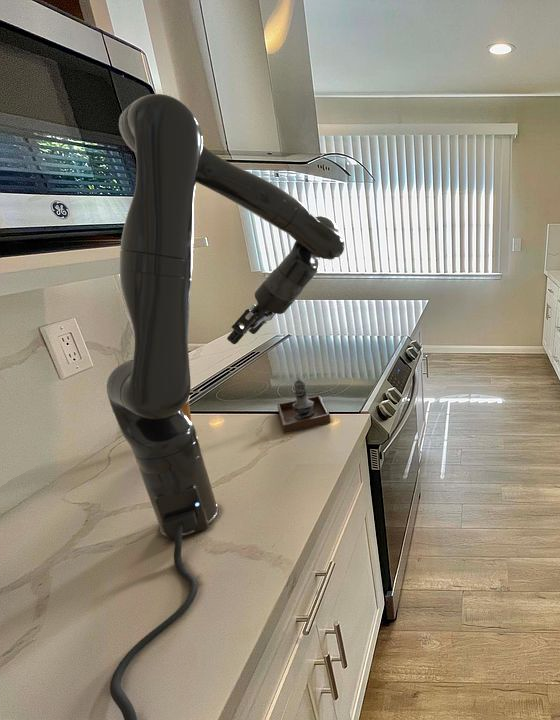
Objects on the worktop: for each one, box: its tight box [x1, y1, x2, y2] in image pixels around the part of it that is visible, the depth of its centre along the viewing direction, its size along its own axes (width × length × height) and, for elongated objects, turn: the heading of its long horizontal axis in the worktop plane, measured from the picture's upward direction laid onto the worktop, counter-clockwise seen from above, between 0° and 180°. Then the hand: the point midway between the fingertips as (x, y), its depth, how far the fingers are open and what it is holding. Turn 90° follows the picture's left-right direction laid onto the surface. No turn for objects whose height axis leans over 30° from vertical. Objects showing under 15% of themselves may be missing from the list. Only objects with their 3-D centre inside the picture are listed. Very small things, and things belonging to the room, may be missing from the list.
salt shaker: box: [292, 377, 314, 419], centre depth 116 cm, size 6×6×12 cm
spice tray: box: [276, 394, 331, 434], centre depth 117 cm, size 15×12×3 cm
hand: (241, 336), depth 96 cm, fingers open, 8 cm apart
